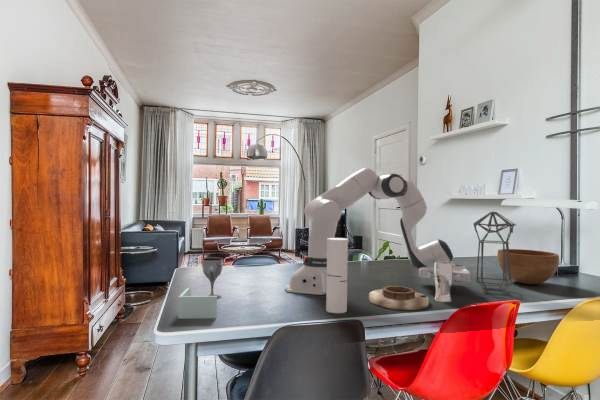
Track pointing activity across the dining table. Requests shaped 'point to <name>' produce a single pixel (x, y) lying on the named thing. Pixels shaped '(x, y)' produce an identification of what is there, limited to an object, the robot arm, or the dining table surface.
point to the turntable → (398, 298)
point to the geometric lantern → (494, 242)
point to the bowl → (530, 265)
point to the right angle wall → (196, 306)
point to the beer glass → (443, 280)
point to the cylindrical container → (336, 275)
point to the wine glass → (212, 270)
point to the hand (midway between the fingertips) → (443, 277)
